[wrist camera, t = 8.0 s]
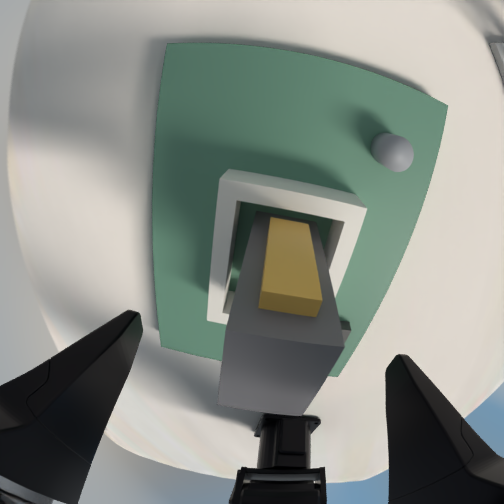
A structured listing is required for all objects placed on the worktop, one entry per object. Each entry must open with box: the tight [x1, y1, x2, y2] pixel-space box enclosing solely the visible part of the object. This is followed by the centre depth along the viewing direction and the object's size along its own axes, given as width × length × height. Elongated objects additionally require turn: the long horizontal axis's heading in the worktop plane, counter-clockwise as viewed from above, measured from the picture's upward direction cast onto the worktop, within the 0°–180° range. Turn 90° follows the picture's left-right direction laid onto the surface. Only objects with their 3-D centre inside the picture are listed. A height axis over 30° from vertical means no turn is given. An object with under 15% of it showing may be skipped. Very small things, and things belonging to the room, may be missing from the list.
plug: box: [217, 211, 345, 416], centre depth 11 cm, size 6×3×8 cm, turn 172°
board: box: [152, 43, 448, 377], centre depth 14 cm, size 20×14×3 cm
